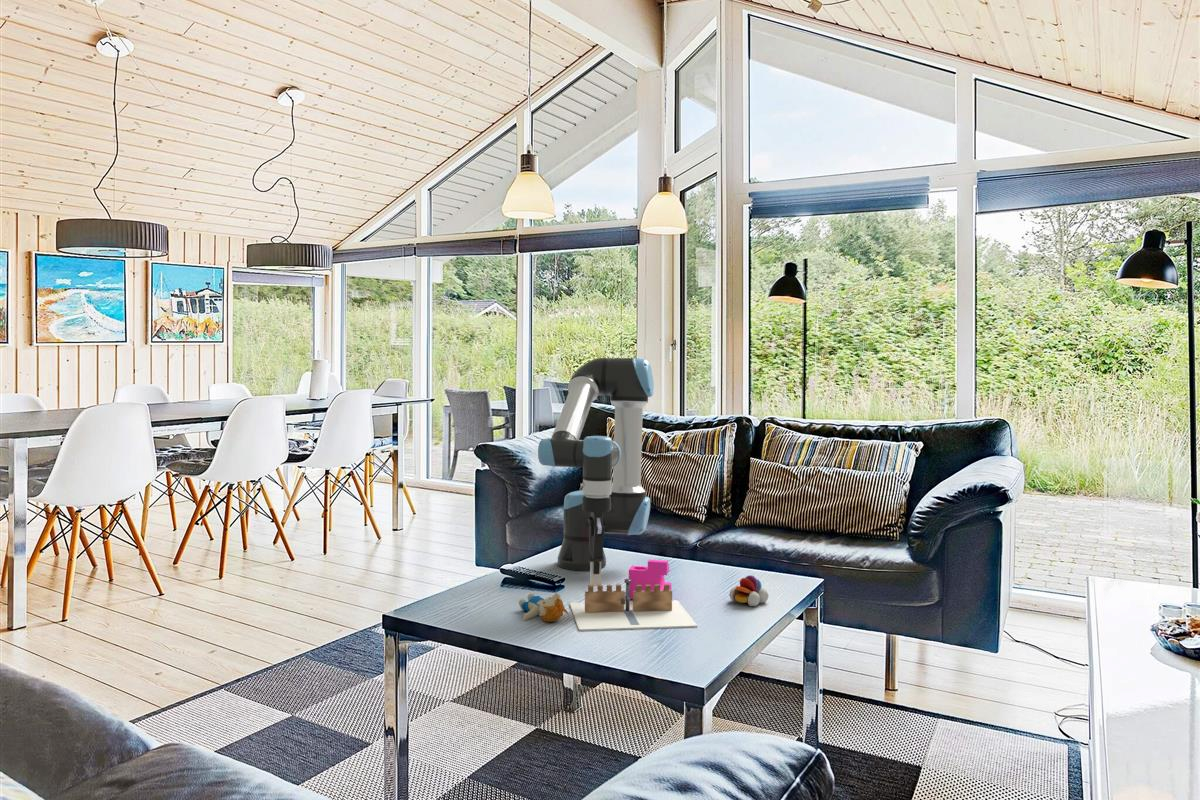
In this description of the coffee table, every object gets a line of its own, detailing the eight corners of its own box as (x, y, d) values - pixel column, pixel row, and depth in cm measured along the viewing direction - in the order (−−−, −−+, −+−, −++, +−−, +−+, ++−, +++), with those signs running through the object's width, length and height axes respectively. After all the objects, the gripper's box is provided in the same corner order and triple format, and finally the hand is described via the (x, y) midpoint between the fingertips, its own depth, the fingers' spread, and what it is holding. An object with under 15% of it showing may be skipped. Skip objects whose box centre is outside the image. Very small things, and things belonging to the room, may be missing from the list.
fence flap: (623, 609, 220) (624, 584, 220) (625, 611, 218) (625, 585, 218) (584, 610, 219) (584, 585, 218) (585, 612, 217) (585, 586, 216)
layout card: (570, 604, 225) (570, 602, 225) (677, 601, 229) (677, 599, 229) (579, 631, 205) (579, 629, 204) (697, 627, 209) (697, 625, 209)
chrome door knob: (623, 610, 220) (623, 579, 220) (630, 609, 220) (630, 578, 220) (624, 612, 218) (625, 580, 218) (631, 611, 219) (632, 580, 218)
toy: (541, 581, 224) (573, 588, 212) (549, 601, 225) (581, 610, 213) (505, 605, 217) (536, 614, 205) (513, 625, 218) (545, 636, 206)
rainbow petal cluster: (725, 603, 229) (725, 576, 229) (745, 595, 236) (746, 569, 236) (752, 609, 223) (752, 582, 223) (771, 602, 231) (772, 575, 230)
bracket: (666, 600, 229) (666, 562, 228) (628, 598, 231) (628, 560, 230) (671, 590, 240) (672, 553, 240) (635, 587, 242) (636, 551, 242)
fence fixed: (633, 611, 219) (634, 586, 219) (632, 610, 220) (633, 584, 220) (671, 610, 220) (672, 585, 220) (670, 608, 222) (671, 583, 221)
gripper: (579, 491, 228) (578, 579, 229) (585, 499, 215) (584, 592, 217) (607, 491, 229) (605, 578, 230) (615, 499, 217) (613, 591, 218)
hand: (595, 585), depth 224 cm, fingers closed
